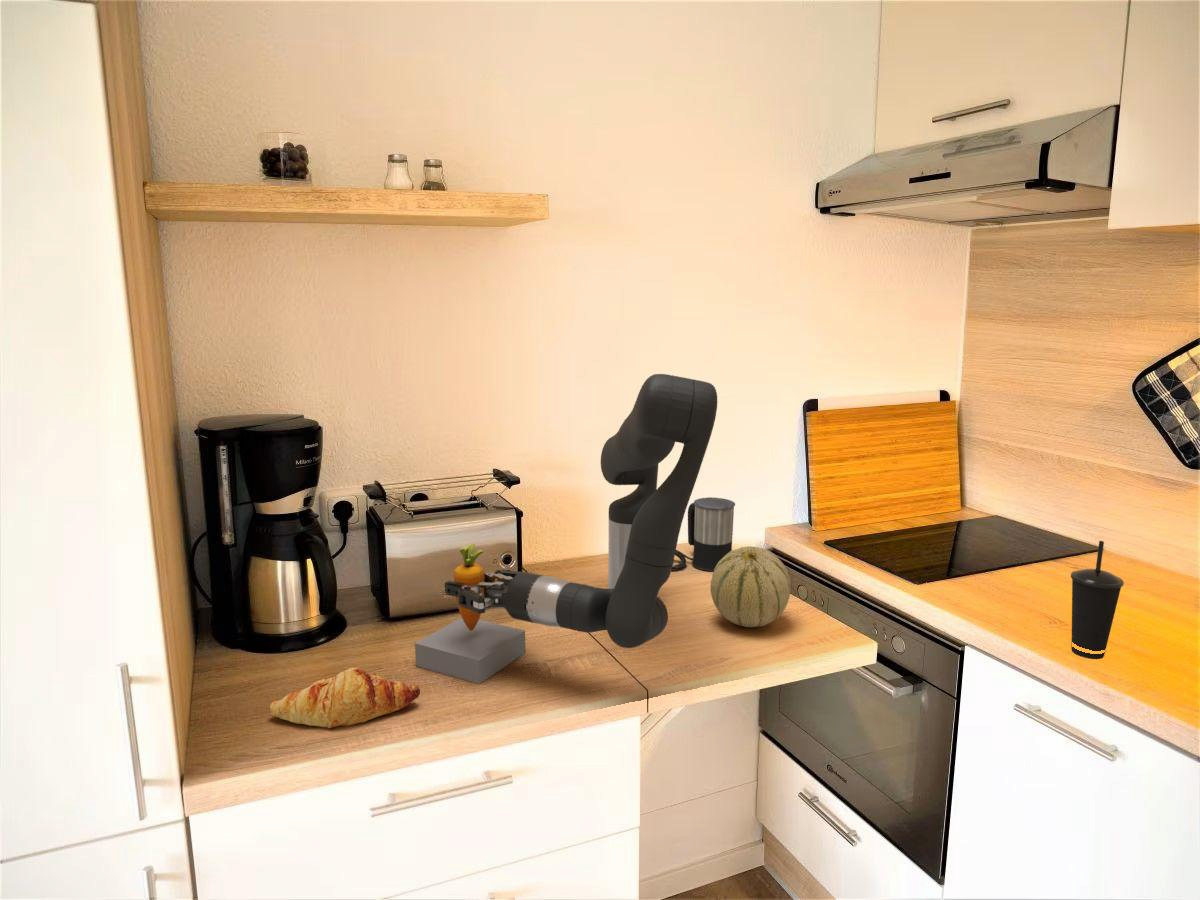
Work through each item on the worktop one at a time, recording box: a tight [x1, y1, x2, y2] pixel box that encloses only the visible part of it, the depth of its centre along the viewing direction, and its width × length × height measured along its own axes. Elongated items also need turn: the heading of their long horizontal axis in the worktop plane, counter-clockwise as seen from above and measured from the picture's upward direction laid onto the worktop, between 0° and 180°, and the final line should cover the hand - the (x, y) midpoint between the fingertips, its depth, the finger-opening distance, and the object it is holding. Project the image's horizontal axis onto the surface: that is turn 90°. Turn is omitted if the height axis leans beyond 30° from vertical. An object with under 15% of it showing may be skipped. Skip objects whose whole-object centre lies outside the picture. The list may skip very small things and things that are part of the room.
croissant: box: [269, 667, 421, 729], centre depth 118 cm, size 21×10×8 cm, turn 103°
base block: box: [414, 617, 526, 685], centre depth 136 cm, size 13×13×4 cm
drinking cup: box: [1070, 540, 1125, 660], centre depth 137 cm, size 8×8×20 cm
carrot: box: [453, 543, 485, 631], centre depth 134 cm, size 5×5×15 cm
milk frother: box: [671, 496, 736, 572], centre depth 181 cm, size 14×16×15 cm
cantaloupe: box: [710, 546, 792, 628], centre depth 149 cm, size 15×15×15 cm
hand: (457, 582), depth 135 cm, fingers closed on carrot, 5 cm apart
